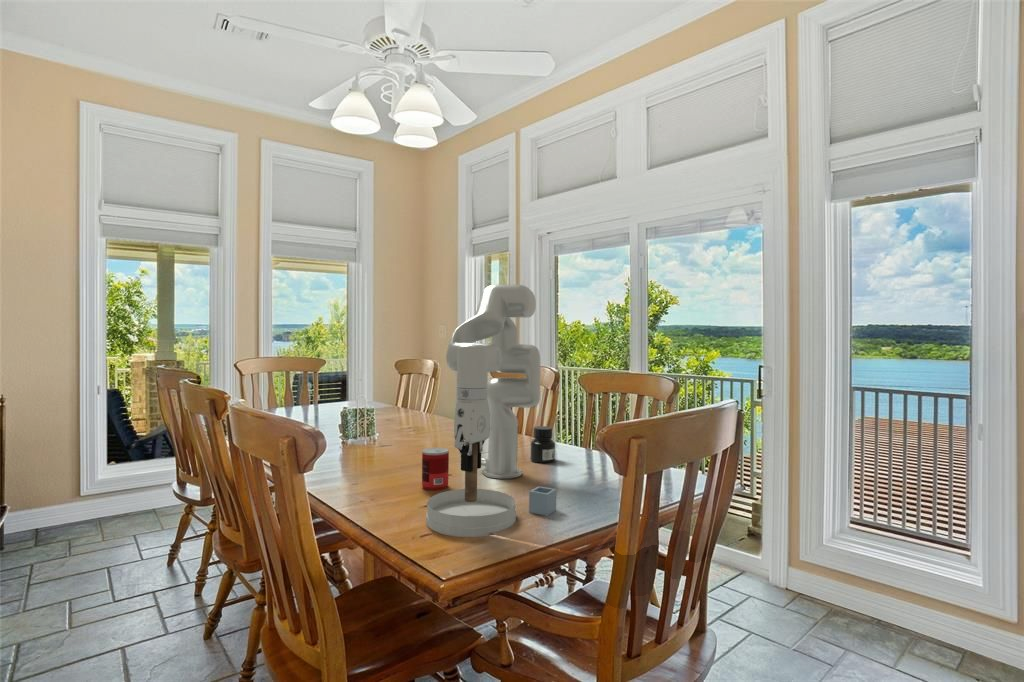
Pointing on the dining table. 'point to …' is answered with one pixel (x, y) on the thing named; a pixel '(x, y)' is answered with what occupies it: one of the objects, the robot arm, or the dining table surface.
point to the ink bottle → (543, 445)
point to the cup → (542, 501)
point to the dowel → (472, 477)
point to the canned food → (435, 468)
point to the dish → (470, 513)
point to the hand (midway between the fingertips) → (471, 468)
